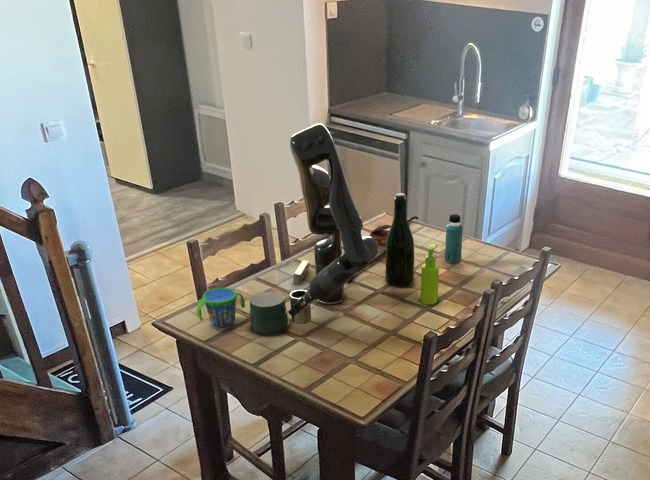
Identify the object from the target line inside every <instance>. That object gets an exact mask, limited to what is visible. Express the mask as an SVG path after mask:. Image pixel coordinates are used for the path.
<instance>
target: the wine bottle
mask: <svg viewBox="0 0 650 480" xmlns="http://www.w3.org/2000/svg"><path fill="white" fill-rule="evenodd" d="M407 204H408V199H407V197H406V194H405V193H401V192H400V193H396V194H395V197H394V199H393V205H394V207H393V208H394V209H393V218H392V223H391V225H390V226H391V228H389V230H388V231H389V233H388V236H387V240H386V246H385V250H386V253H385V266H384V267H385V269H384V271H385V278H384V279H385V282H386V284H387V285H389V286H390V287H394V288H406V287H409V286H411V285H413V283H414V281H415V240H414V235H413V232H412V230H411V227H410V225H409V223H408V220H409V219H408V212H407Z"/></svg>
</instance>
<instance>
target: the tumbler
mask: <svg viewBox="0 0 650 480" xmlns="http://www.w3.org/2000/svg"><path fill="white" fill-rule="evenodd" d="M307 291H308V290H305V289H296V290H293V291H291V292H290V293H289V302H290V304H289V305H290V309H292V307H293V306H294V305H295V304H297V303H298V302H299V299H300V298H301V297H302V296H304V295H305V293H306V292H307ZM306 296H307V295H306ZM303 299H304V298H303ZM308 304H309V303H308ZM311 309H312V308H311V305H309V306H308V307H307V308H303V309H302V311H301V312H300V313H298V314H296V315H295V316H293V317H292V316H291V322H293V324H295V325H306V324H308V323H310V322H311V321H312V310H311Z"/></svg>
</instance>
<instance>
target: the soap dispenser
mask: <svg viewBox="0 0 650 480" xmlns="http://www.w3.org/2000/svg"><path fill="white" fill-rule="evenodd" d="M438 247H439V244H435V243H431V244H430V245H429V246H428V247H427V248H426V251H427V253H428V254H427V255H426V256H425V261H424V262H425V263H423V264H421V274H420V275H421V277H420V302H421V303H422V304H424V305H427V306H428V305H435V304H438V295H439V276H440V266H439V264H437V263H436V260H437V259H436V258H437V257H436V255H434V250H435V249H436V248H438Z"/></svg>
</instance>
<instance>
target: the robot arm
mask: <svg viewBox="0 0 650 480" xmlns="http://www.w3.org/2000/svg"><path fill="white" fill-rule="evenodd" d="M289 148H290V151H291V155H292V158H293V160H294V164H295V166H296V170H297V173H298V177H299V183H300V188H301V194H302V197H303V201H304V205H305V210H306V218H307V226H308V229H309V231H310V233H311V234H313V235H316V236H317V235H318V236H329V237H327V238H324V239H321V240H319V241H318V242H316V243H315V244H314V247H313V255H314V267H315V269H314V270H315V275H314V276H313V277H312V278H311V279H310V281H309V284H308V286H309V289H308V290H306V291H307V292H306V293H305V295H304V296H302V297H301V298H300V299H299V302H298V303H297V304H295V305H294V306H293V307H292V309H291V308H290V309H289V310H288V312H287V314H289V315H290V316H291V318H292V317H293V316H295V315H296V314H298V313H300V312H301V311H302V309H303V308H307V307H308V306H309V305H310V306H311V305H312V304H315V303H316V302H318V303H320V304H323V305H329V306H330V305H331V306H333V305H337V304H340V303H342V302H343V301H344V300H345V284H348V283H351V281H352V280H353V278H354V277H355V276H356V275H357V274H358V273H359V272H361V271H363V270H364V269H366V268H367V267H369V266H371V265H372V264H374V263H375V262H376V261H378V260H380V259H381V258H382V257H383V256H385V255H386V249H385V250H384V251H382V252H381V253H380V254H379V255H378V253H379V247H380V246H378V243H377V242H376V240H375V239H373V238H372V237H370V236H366V235H365V236H362V235H363V234H362V230H363V228H364V222H363V219H362V217H361V215H360V213H359V209H358V208H357V205H356V204H355V202H354V199H353V197H352V194H351V191H350V188H349V185H348V181H347V179H346V175H345V172H344V169H343V166H342V163H341V160H340V157H339V154H338V153H339V152H338V150H337V147H336V145H335V142H334V140H333V137H332V135H331V133H330V131H329V130H328V128H327V127H326V126H325V125H324V124H323V123H315V124H313V125H311V126H310V127H307V128H305V129H303V130H300V131H299V132H298V131H297V132H296V133H294V134H293V135H292V136H291V137H290V139H289ZM324 161H327V164H328V166H329V171H330V172H329V173H330V174H329V173H328V171H327V170H326V169H324V168H322V167H320V166H318V164H320V163H322V162H324ZM419 219H420V218H419V217H418V216H417V215H414V216H412V217H410V218H409V219H407V220H408V224H409V223H410V222H412V221H413V220H419ZM343 252H344V253H343ZM306 295H307V296H306ZM303 298H304V299H303ZM308 303H309V304H308Z"/></svg>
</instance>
